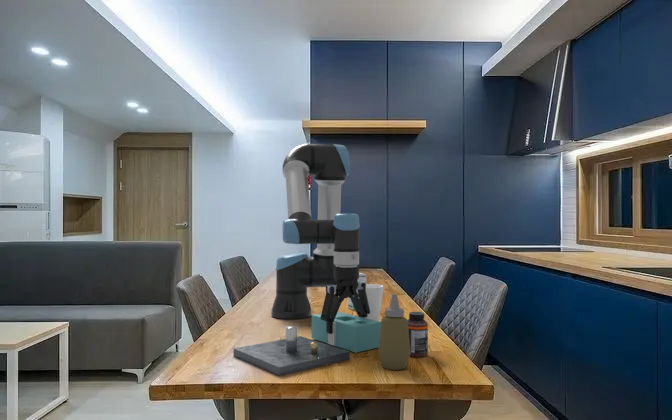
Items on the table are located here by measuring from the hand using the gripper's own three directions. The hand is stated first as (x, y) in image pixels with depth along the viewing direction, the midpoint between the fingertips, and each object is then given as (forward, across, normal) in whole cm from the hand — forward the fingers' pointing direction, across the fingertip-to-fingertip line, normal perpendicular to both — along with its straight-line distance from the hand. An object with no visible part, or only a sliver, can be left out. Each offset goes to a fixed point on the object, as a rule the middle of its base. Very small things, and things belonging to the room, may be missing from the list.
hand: (345, 341), depth 147 cm
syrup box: (+1, +41, +40) cm, 57 cm away
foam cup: (+1, +26, +17) cm, 31 cm away
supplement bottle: (+1, +7, -21) cm, 22 cm away
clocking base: (0, -21, -2) cm, 21 cm away
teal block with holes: (0, 0, 0) cm, 0 cm away
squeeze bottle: (+1, -6, -25) cm, 26 cm away
